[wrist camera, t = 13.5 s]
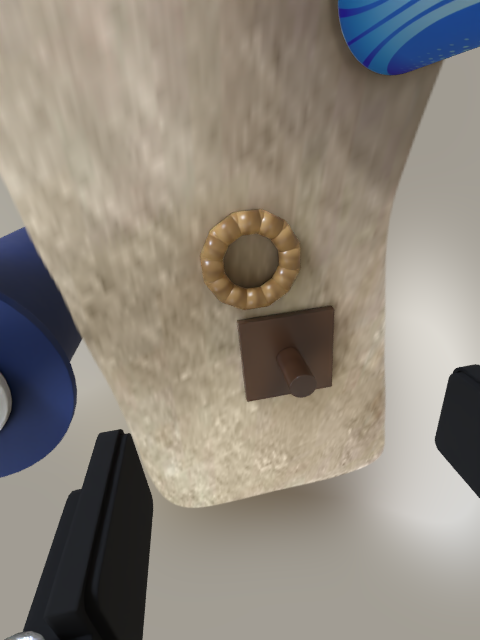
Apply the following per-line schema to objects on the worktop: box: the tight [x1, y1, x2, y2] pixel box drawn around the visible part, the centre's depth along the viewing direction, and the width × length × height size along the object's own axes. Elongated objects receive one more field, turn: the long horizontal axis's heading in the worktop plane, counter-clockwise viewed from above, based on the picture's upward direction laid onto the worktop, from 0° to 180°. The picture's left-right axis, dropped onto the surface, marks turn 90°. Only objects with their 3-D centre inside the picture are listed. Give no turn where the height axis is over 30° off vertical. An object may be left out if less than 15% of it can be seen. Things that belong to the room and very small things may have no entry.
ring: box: [200, 209, 301, 310], centre depth 28 cm, size 8×8×2 cm
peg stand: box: [237, 306, 334, 402], centre depth 31 cm, size 9×9×5 cm
